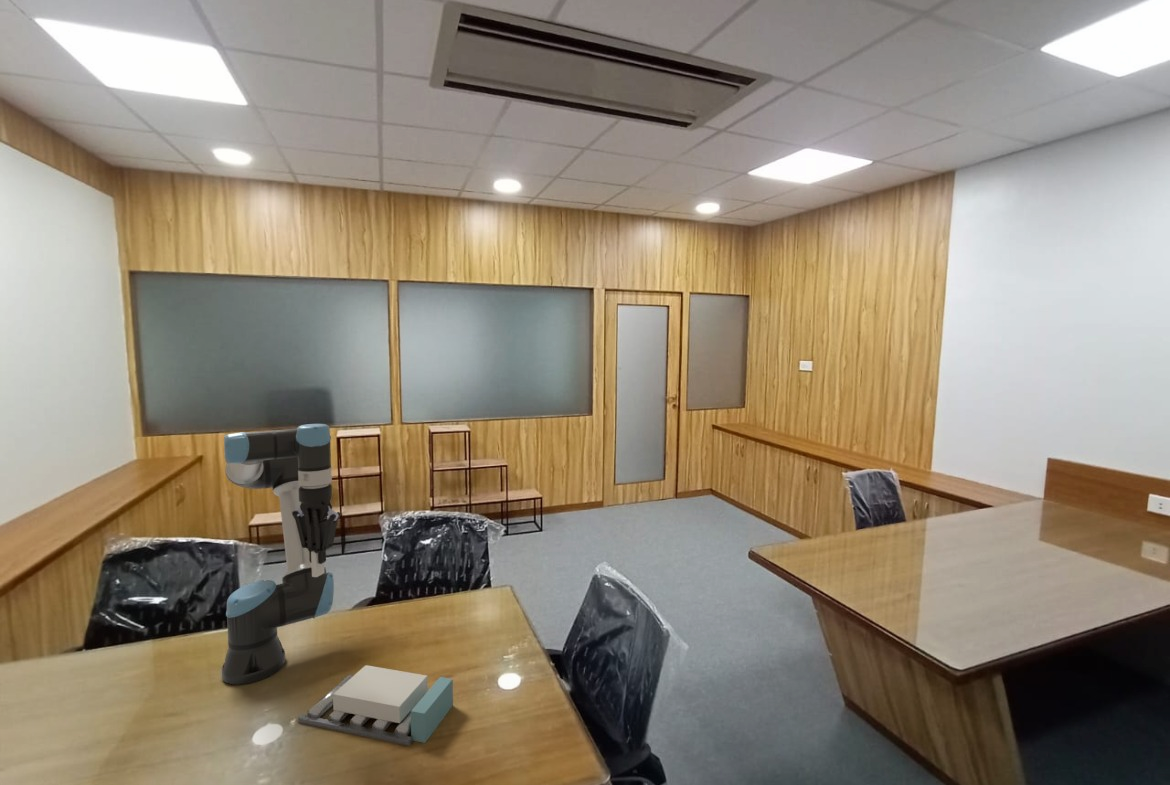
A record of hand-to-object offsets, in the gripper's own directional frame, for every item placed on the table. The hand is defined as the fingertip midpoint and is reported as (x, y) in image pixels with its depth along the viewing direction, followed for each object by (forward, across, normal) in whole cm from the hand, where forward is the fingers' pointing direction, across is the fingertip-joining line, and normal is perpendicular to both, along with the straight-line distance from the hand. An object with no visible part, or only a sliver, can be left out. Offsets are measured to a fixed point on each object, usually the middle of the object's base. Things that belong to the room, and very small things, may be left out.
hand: (318, 574), depth 133 cm
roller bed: (+31, +18, -3) cm, 36 cm away
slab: (+28, +20, -3) cm, 35 cm away
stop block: (+31, +34, -3) cm, 47 cm away
